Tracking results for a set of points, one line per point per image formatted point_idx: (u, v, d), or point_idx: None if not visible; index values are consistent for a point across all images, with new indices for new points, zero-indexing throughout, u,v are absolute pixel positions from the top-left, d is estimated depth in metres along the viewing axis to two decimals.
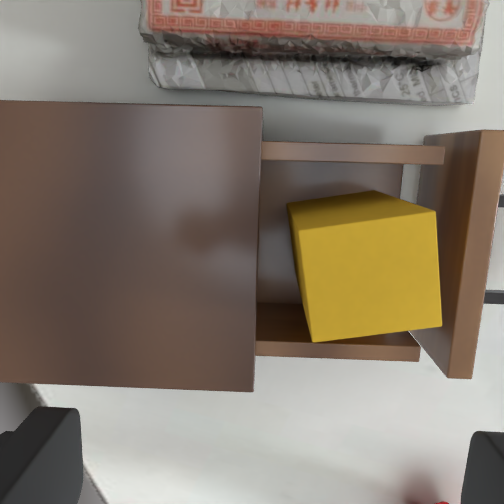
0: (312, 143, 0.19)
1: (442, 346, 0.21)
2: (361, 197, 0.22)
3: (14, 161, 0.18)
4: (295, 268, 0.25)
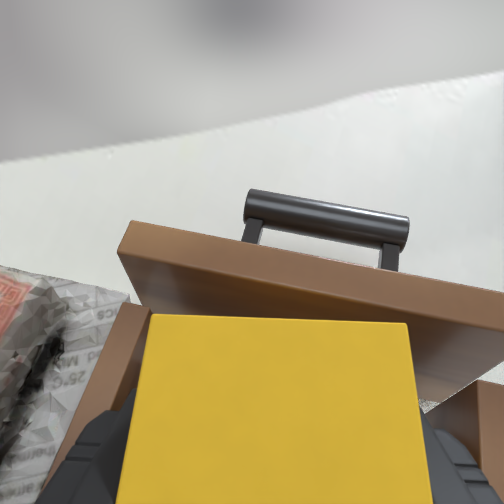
0: None
1: (474, 341, 0.12)
2: None
3: None
4: None
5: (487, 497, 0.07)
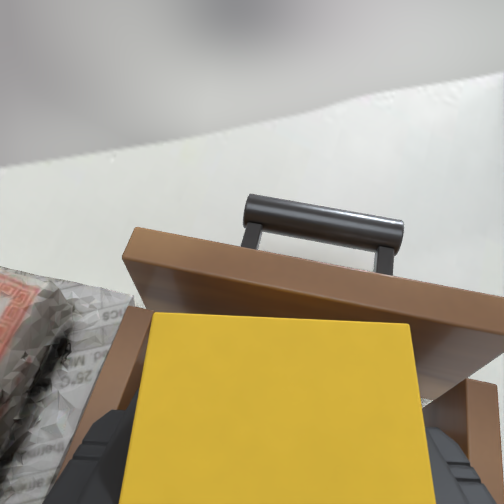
0: None
1: (464, 342, 0.12)
2: None
3: None
4: None
5: (479, 495, 0.07)
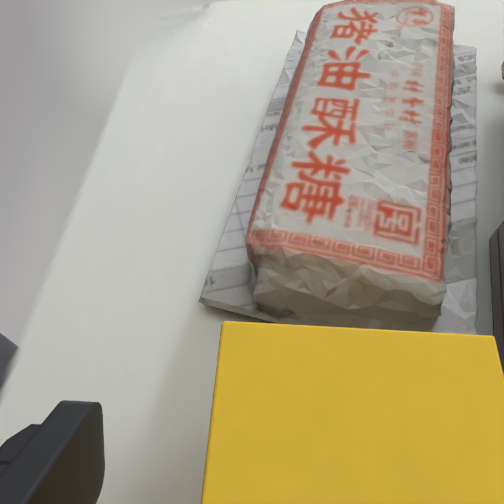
0: None
1: None
2: None
3: None
4: None
5: None
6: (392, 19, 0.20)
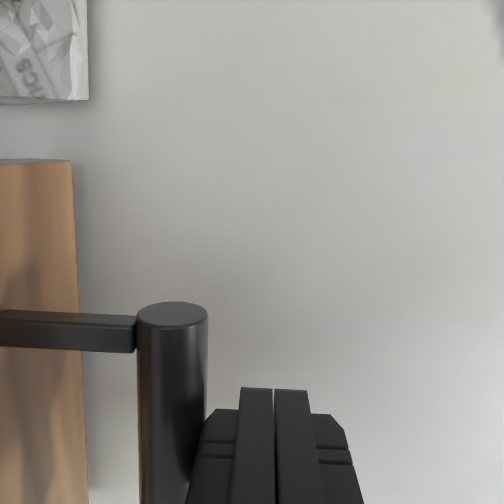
0: None
1: None
2: None
3: None
4: None
5: (345, 476, 0.08)
6: None
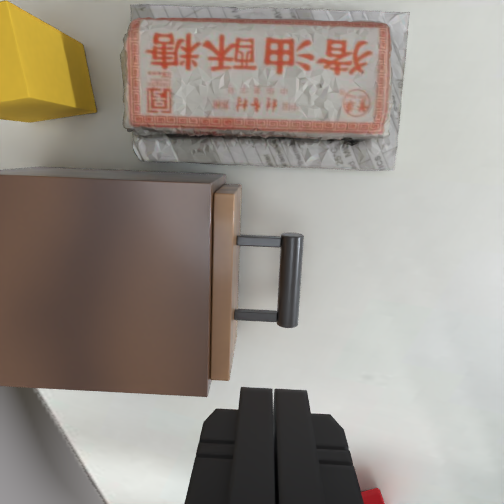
0: None
1: None
2: None
3: (23, 220, 0.24)
4: None
5: (344, 476, 0.08)
6: (353, 85, 0.26)
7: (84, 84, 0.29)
